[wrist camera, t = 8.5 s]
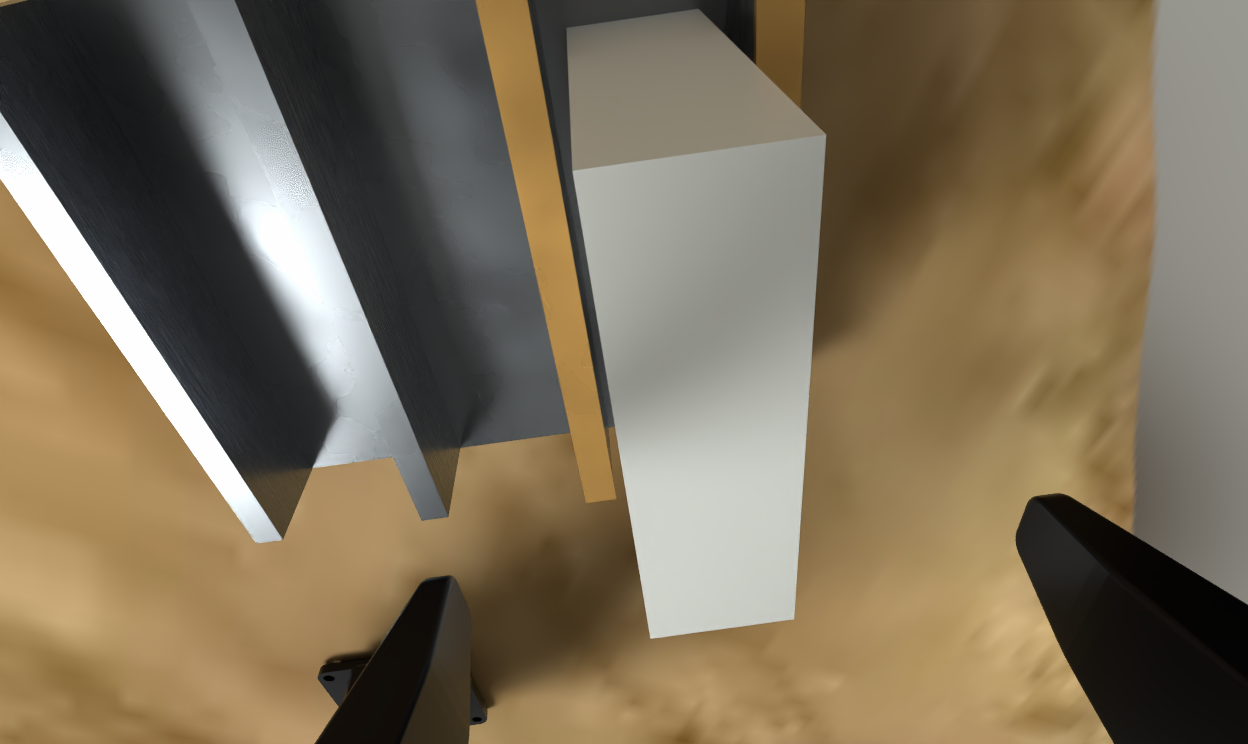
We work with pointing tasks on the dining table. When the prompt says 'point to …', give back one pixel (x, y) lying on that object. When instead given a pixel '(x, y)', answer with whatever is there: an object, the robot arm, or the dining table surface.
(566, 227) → the rack
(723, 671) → the dining table surface
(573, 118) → the panel
